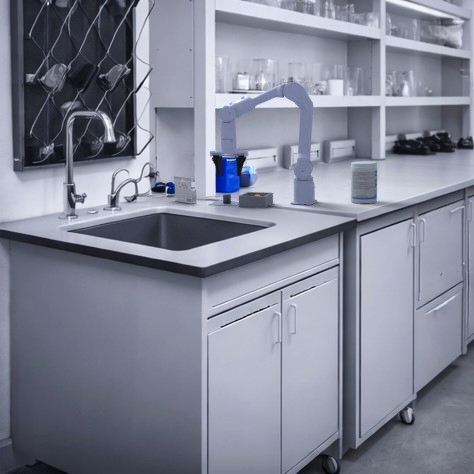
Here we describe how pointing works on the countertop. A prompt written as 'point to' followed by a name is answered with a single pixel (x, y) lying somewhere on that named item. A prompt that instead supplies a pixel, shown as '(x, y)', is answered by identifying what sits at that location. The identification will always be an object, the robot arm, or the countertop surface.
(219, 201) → the lid
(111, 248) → the countertop surface
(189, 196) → the ink cartridge box
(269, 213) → the countertop surface
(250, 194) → the box
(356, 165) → the supplement tub
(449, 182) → the countertop surface
